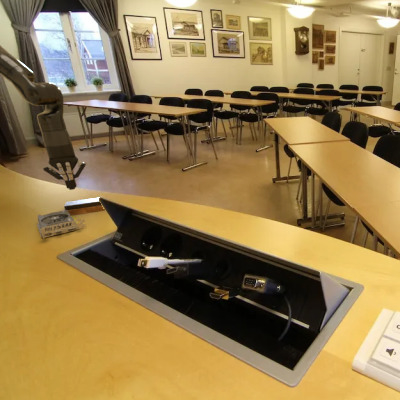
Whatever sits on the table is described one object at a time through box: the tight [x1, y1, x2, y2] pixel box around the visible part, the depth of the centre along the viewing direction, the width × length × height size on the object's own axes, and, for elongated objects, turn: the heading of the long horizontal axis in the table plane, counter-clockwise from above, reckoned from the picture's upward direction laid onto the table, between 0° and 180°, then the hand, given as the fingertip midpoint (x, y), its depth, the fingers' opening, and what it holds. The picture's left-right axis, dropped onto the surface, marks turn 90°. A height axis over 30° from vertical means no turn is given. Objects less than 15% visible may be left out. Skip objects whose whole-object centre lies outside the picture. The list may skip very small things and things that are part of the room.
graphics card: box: [36, 209, 87, 241], centre depth 111 cm, size 17×4×12 cm
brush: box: [62, 196, 105, 216], centre depth 123 cm, size 4×6×13 cm
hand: (72, 189), depth 119 cm, fingers closed
